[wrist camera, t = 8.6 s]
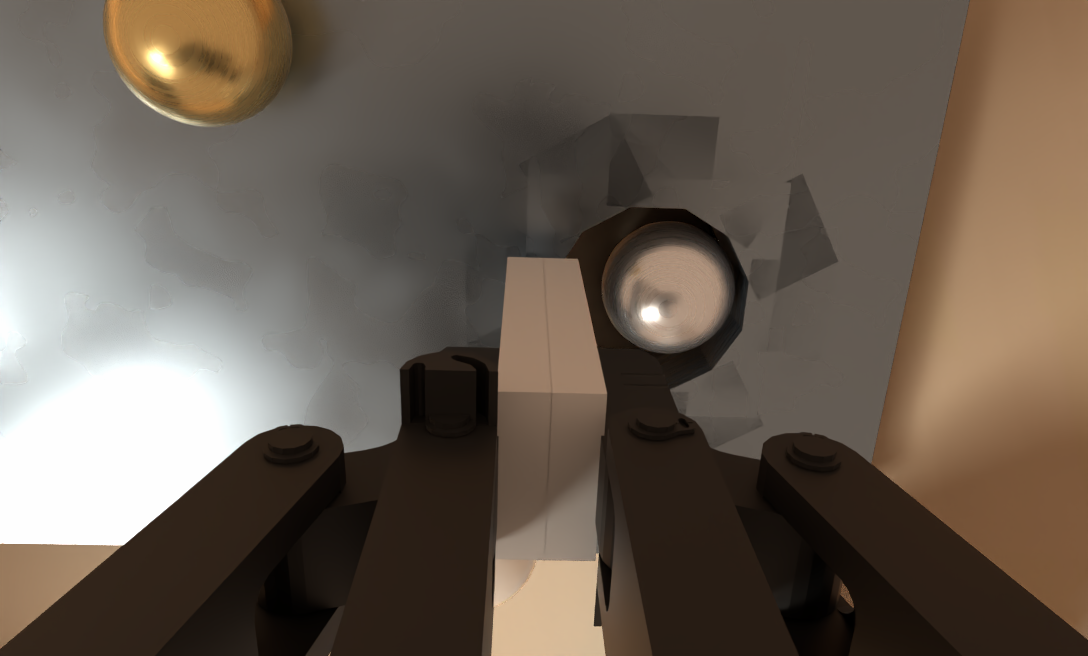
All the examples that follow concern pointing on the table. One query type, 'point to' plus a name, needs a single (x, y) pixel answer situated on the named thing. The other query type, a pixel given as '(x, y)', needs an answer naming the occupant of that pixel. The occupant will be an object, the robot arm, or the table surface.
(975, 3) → the table surface
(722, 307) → the ball
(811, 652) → the robot arm
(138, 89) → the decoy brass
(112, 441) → the deck
